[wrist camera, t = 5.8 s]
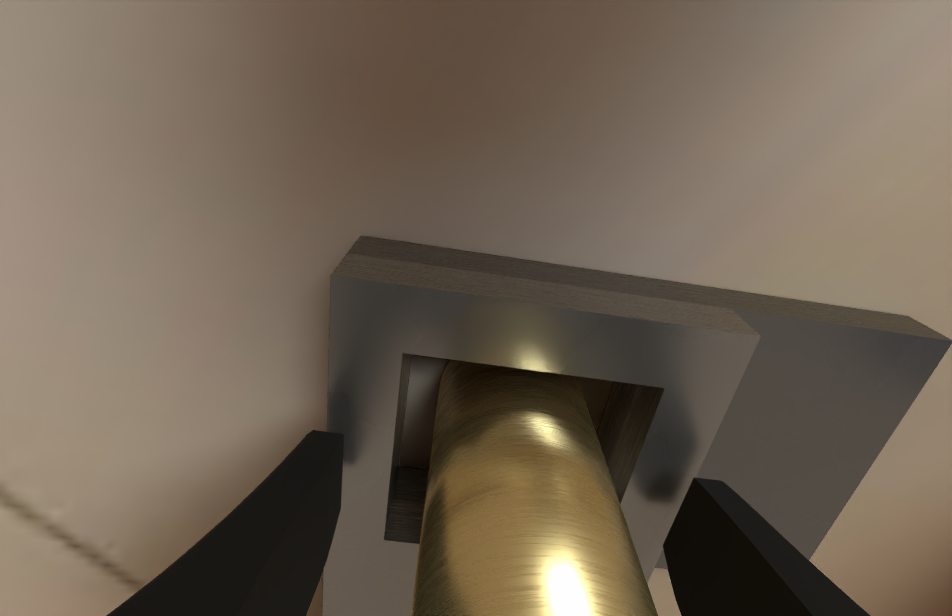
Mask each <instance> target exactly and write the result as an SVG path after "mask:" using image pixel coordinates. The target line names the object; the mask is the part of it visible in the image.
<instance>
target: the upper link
mask: <svg viewBox="0 0 952 616" xmlns="http://www.w3.org/2000/svg"><path fill="white" fill-rule="evenodd" d="M760 337H761V336H760V335H759V334H758V333H757V332H756V331H755V330H754V329H753V328H751V327H750V326H749V325H748V324H747V323H746V322H745V321H744V320H743V319H742V318H741V317H739V316H738V315H737V314H736V313H735V312H734V311H733V310H732V309H730V308H723V307H716V306H709V305H702V304H695V303H688V302H681V301H674V300H668V299H661V298H654V297H647V296H640V295H633V294H626V293H619V292H612V291H605V290H599V289H592V288H585V287H578V286H571V285H564V284H557V283H550V282H543V281H536V280H530V279H523V278H516V277H509V276H502V275H495V274H488V273H481V272H474V271H467V270H461V269H454V268H447V267H440V266H433V265H426V264H419V263H412V262H405V261H398V260H392V259H385V258H378V257H371V256H364V255H357V254H350V253H347V254H346V256H345V257H344V258H343V260H342V261H341V262H340V263H339V265H338V266H337V267H336V269H335V270H334V271H333V273H332V274H331V280H330V322H329V364H328V405H327V432H332V433H340V434H344V450H343V473H342V496H341V510H340V514H339V518H338V521H337V525H336V529H335V533H334V537H333V540H332V544H331V547H330V551H329V555H328V558H327V561H326V564H325V567H324V572H323V614H322V616H411V609H412V601H413V593H414V585H415V577H416V569H417V561H418V553H419V545H420V537H421V529H422V521H423V513H424V505H425V504H420V503H411V502H403V501H394V500H392V498H393V488H394V479H395V469H396V459H397V450H398V440H399V431H400V421H401V412H402V402H403V393H404V383H405V374H406V364H407V355H408V354H415V355H422V356H430V357H437V358H444V359H452V360H459V361H467V362H474V363H482V364H489V365H497V366H504V367H512V368H519V369H526V370H534V371H541V372H549V373H556V374H564V375H571V376H579V377H586V378H594V379H601V380H608V381H616V382H623V383H631V384H636V387H635V389H634V392H633V395H632V398H631V401H630V404H629V407H628V409H627V412H626V415H625V418H624V421H623V424H622V426H621V429H620V432H619V435H618V438H617V441H616V444H615V446H614V449H613V452H612V455H611V458H610V461H609V463H608V466H607V467H608V470H609V473H610V476H611V479H612V482H613V485H614V488H615V491H616V494H617V496H618V499H619V502H620V505H621V508H622V511H623V514H624V517H625V520H626V523H627V526H628V529H629V532H630V535H631V538H632V541H633V544H634V547H635V550H636V553H637V555H638V558H639V561H640V564H641V567H642V570H643V573H644V576H645V579H646V582H648V580H649V578H650V576H651V574H652V572H653V569H654V567H655V565H656V563H657V561H658V559H659V556H660V554H661V552H662V550H663V543H664V541H665V539H666V537H667V535H668V532H669V530H670V528H671V526H672V524H673V522H674V519H675V517H676V515H677V513H678V511H679V508H680V506H681V504H682V502H683V500H684V497H685V495H686V493H687V491H688V489H689V487H690V484H691V482H692V480H693V478H694V477H696V476H697V474H698V472H699V470H700V467H701V465H702V463H703V461H704V459H705V457H706V454H707V452H708V450H709V448H710V446H711V444H712V441H713V439H714V437H715V435H716V433H717V431H718V428H719V426H720V424H721V422H722V420H723V418H724V415H725V413H726V411H727V409H728V407H729V404H730V402H731V400H732V398H733V396H734V394H735V391H736V389H737V387H738V385H739V383H740V381H741V378H742V376H743V374H744V372H745V370H746V368H747V365H748V363H749V361H750V359H751V357H752V355H753V352H754V350H755V348H756V346H757V344H758V342H759V339H760Z"/></svg>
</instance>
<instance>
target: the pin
mask: <svg viewBox="0 0 952 616" xmlns="http://www.w3.org/2000/svg"><path fill="white" fill-rule="evenodd" d="M411 616H658V614H657V612H656V609H655V606H654V603H653V600H652V597H651V594H650V591H649V588H648V585H647V582H646V579H645V576H644V573H643V570H642V567H641V564H640V561H639V558H638V555H637V553H636V550H635V547H634V544H633V541H632V538H631V535H630V532H629V529H628V526H627V523H626V520H625V517H624V514H623V511H622V508H621V505H620V502H619V499H618V496H617V494H616V491H615V488H614V485H613V482H612V479H611V476H610V473H609V470H608V467H607V464H606V461H605V458H604V455H603V452H602V449H601V446H600V443H599V440H598V437H597V435H596V432H595V429H594V426H593V423H592V420H591V417H590V414H589V411H588V408H587V405H586V402H585V399H584V396H583V393H582V390H581V387H580V384H579V381H578V378H577V376H571V375H564V374H556V373H549V372H541V371H534V370H526V369H519V368H512V367H504V366H497V365H489V364H482V363H474V362H467V361H459V360H452V359H451V360H450V361H449V362H448V364H447V366H446V367H445V369H444V371H443V374H442V377H441V381H440V386H439V394H438V402H437V410H436V418H435V426H434V434H433V442H432V450H431V458H430V466H429V473H428V481H427V489H426V497H425V505H424V513H423V521H422V529H421V537H420V545H419V553H418V561H417V569H416V577H415V585H414V593H413V601H412V609H411Z"/></svg>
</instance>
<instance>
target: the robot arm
mask: <svg viewBox="0 0 952 616" xmlns="http://www.w3.org/2000/svg"><path fill="white" fill-rule="evenodd" d="M343 450H344V434H340V433H332V432H324V431H316V430H313V431H311V432H310V433H308V434H307V435H306V436H305V437H304V439H303V440H302V441H301V442H300V443H299V444H298V445H297V446H296V447H295V449H294V450H293V451H292V452H291V453H290V454H289V455H288V456H287V457H286V458H285V459H284V460H283V461H282V462H281V464H280V465H279V466H278V467H277V468H276V469H275V470H274V471H273V472H272V473H271V474H270V475H269V476H268V477H267V478H266V479H265V480H264V481H263V482H262V483H261V484H260V485H259V486H258V487H257V488H256V489H255V490H254V491H253V492H252V493H251V494H250V495H249V496H248V497H246V498H245V499H244V500H243V501H242V502H241V503H240V504H239V505H238V506H237V507H236V508H235V509H234V510H233V511H232V512H231V513H230V514H229V515H228V516H227V517H226V518H224V519H223V520H222V521H221V522H220V523H219V524H218V525H217V526H215V527H214V528H213V529H212V530H211V531H210V532H209V533H207V534H206V535H205V536H204V537H203V538H202V539H201V540H200V541H198V542H197V543H196V544H195V545H194V546H193V547H192V548H191V549H189V550H188V551H187V552H186V553H185V554H184V555H182V556H181V557H180V558H179V559H178V560H176V561H175V562H174V563H173V564H172V565H170V566H169V567H168V568H167V569H166V570H164V571H163V572H162V573H161V574H159V575H158V576H157V577H156V578H155V579H153V580H152V581H151V582H150V583H148V584H147V585H146V586H144V587H143V588H142V589H141V590H139V591H138V592H137V593H135V594H134V595H133V596H132V597H130V598H129V599H128V600H126V601H125V602H124V603H123V604H121V605H120V606H119V607H117V608H116V609H115V610H113V611H112V612H111V613H109V614H108V615H106V616H306V614H307V611H308V609H309V606H310V603H311V601H312V598H313V596H314V593H315V590H316V588H317V585H318V582H319V580H320V577H321V575H322V572H323V569H324V567H325V564H326V561H327V558H328V555H329V551H330V547H331V544H332V540H333V537H334V533H335V529H336V525H337V521H338V518H339V514H340V510H341V496H342V473H343ZM663 549H664V554H665V558H666V563H667V567H668V571H669V576H670V579H671V583H672V587H673V591H674V595H675V598H676V601H677V604H678V607H679V610H680V612H681V615H682V616H870V615H869V614H868V613H867V612H866V611H864V610H863V609H862V608H861V607H860V606H859V605H857V604H856V603H855V602H854V601H853V600H852V599H851V598H850V597H848V596H847V595H846V594H845V593H844V592H843V591H842V590H841V589H840V588H838V587H837V586H836V585H835V584H834V583H833V582H832V581H831V580H830V579H828V578H827V577H826V576H825V575H824V574H823V573H822V572H821V571H820V570H819V569H817V568H816V567H815V566H814V565H813V564H812V563H811V562H810V561H809V560H808V559H807V558H806V557H805V556H803V555H802V554H801V553H800V552H799V551H798V550H797V549H796V548H795V547H794V546H793V545H792V544H791V543H790V542H788V541H787V540H786V539H785V538H784V537H783V536H782V535H781V534H780V533H779V532H778V531H777V530H776V529H775V528H774V527H773V526H771V525H770V524H769V523H768V522H767V521H766V520H765V519H764V518H763V517H762V516H761V515H760V514H759V513H758V512H757V511H756V510H754V509H753V508H752V507H751V506H750V505H749V504H748V503H747V502H746V501H745V500H744V499H743V498H741V497H740V496H739V495H738V494H737V493H736V492H735V491H734V490H732V489H731V488H730V487H729V486H728V485H727V484H725V483H724V482H723V481H720V480H712V479H704V478H696V477H694V478H693V480H692V482H691V484H690V487H689V489H688V491H687V493H686V495H685V497H684V500H683V502H682V504H681V506H680V508H679V511H678V513H677V515H676V517H675V519H674V522H673V524H672V526H671V528H670V530H669V532H668V535H667V537H666V539H665V541H664V543H663Z"/></svg>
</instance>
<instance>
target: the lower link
mask: <svg viewBox="0 0 952 616" xmlns="http://www.w3.org/2000/svg"><path fill="white" fill-rule="evenodd" d="M348 253H350V254H357V255H364V256H371V257H378V258H385V259H392V260H398V261H405V262H412V263H419V264H426V265H433V266H440V267H447V268H454V269H461V270H467V271H474V272H481V273H488V274H495V275H502V276H509V277H516V278H523V279H530V280H536V281H543V282H550V283H557V284H564V285H571V286H578V287H585V288H592V289H599V290H605V291H612V292H619V293H626V294H633V295H640V296H647V297H654V298H661V299H668V300H674V301H681V302H688V303H695V304H702V305H709V306H716V307H723V308H730V309H732V310H733V311H734V312H735V313H736V314H737V315H738V316H739V317H741V318H742V319H743V320H744V321H745V322H746V323H747V324H748V325H749V326H750V327H751V328H753V329H754V330H755V331H756V332H757V333H758V334H759V335H760V336H761V337H760V339H759V342H758V344H757V346H756V348H755V350H754V352H753V355H752V357H751V359H750V361H749V363H748V365H747V368H746V370H745V372H744V374H743V376H742V378H741V381H740V383H739V385H738V387H737V389H736V391H735V394H734V396H733V398H732V400H731V402H730V404H729V407H728V409H727V411H726V413H725V415H724V418H723V420H722V422H721V424H720V426H719V428H718V431H717V433H716V435H715V437H714V439H713V441H712V444H711V446H710V448H709V450H708V452H707V454H706V457H705V459H704V461H703V463H702V465H701V467H700V470H699V472H698V474H697V476H696V478H704V479H712V480H720V481H723V482H724V483H725V484H727V485H728V486H729V487H730V488H731V489H732V490H734V491H735V492H736V493H737V494H738V495H739V496H740V497H741V498H743V499H744V500H745V501H746V502H747V503H748V504H749V505H750V506H751V507H752V508H753V509H754V510H756V511H757V512H758V513H759V514H760V515H761V516H762V517H763V518H764V519H765V520H766V521H767V522H768V523H769V524H770V525H771V526H773V527H774V528H775V529H776V530H777V531H778V532H779V533H780V534H781V535H782V536H783V537H784V538H785V539H786V540H787V541H788V542H790V543H791V544H792V545H793V546H794V547H795V548H796V549H797V550H798V551H799V552H800V553H801V554H802V555H803V556H805V557H806V558H807V559H808V560H809V559H810V558H811V556H812V555H813V553H814V552H815V550H816V549H817V547H818V546H819V544H820V543H821V541H822V540H823V538H824V537H825V535H826V534H827V532H828V531H829V529H830V528H831V526H832V525H833V523H834V521H835V520H836V518H837V517H838V515H839V514H840V512H841V511H842V509H843V508H844V506H845V505H846V503H847V502H848V500H849V499H850V497H851V496H852V494H853V493H854V491H855V490H856V488H857V487H858V485H859V484H860V482H861V480H862V479H863V477H864V476H865V474H866V473H867V471H868V470H869V468H870V467H871V465H872V464H873V462H874V461H875V459H876V458H877V456H878V455H879V453H880V452H881V450H882V449H883V447H884V446H885V444H886V442H887V441H888V439H889V438H890V436H891V435H892V433H893V432H894V430H895V429H896V427H897V426H898V424H899V423H900V421H901V420H902V418H903V417H904V415H905V414H906V412H907V411H908V409H909V408H910V406H911V405H912V403H913V401H914V400H915V398H916V397H917V395H918V394H919V392H920V391H921V389H922V388H923V386H924V385H925V383H926V382H927V380H928V379H929V377H930V376H931V374H932V373H933V371H934V370H935V368H936V367H937V365H938V364H939V362H940V360H941V359H942V357H943V356H944V354H945V353H946V351H947V350H948V348H949V347H950V345H951V344H952V340H951V339H949V338H947V337H945V336H944V335H942V334H940V333H938V332H936V331H934V330H933V329H931V328H929V327H927V326H925V325H924V324H922V323H920V322H918V321H916V320H914V319H913V318H911V317H909V316H903V315H896V314H890V313H883V312H876V311H869V310H863V309H856V308H849V307H842V306H835V305H829V304H822V303H815V302H808V301H801V300H795V299H788V298H781V297H774V296H767V295H761V294H754V293H747V292H740V291H733V290H727V289H720V288H713V287H706V286H699V285H693V284H686V283H679V282H672V281H666V280H659V279H652V278H645V277H638V276H632V275H625V274H618V273H611V272H604V271H598V270H591V269H584V268H577V267H570V266H564V265H557V264H550V263H543V262H536V261H530V260H523V259H516V258H509V257H502V256H496V255H489V254H482V253H475V252H468V251H462V250H455V249H448V248H441V247H435V246H428V245H421V244H414V243H407V242H401V241H394V240H387V239H380V238H373V237H367V236H360V238H359V239H358V240H357V241H356V243H355V244H354V245H353V247H352V248H351V249H350V251H349V252H348ZM411 355H412V354H408V355H407V364H406V374H405V383H404V393H403V402H402V412H401V421H400V431H399V440H398V450H397V459H396V469H395V479H394V488H393V498H392V500H394V501H403V502H411V503H420V504H425V497H426V489H427V481H428V473H429V470H422V469H413V468H405V467H399V465H400V455H401V446H402V437H403V428H404V419H405V410H406V400H407V391H408V382H409V373H410V364H411ZM635 387H636V384H631V383H623V382H616V381H614V384H613V387H612V390H611V393H610V396H609V399H608V402H607V405H606V408H605V411H604V414H603V417H602V420H601V423H600V426H599V429H598V432H597V437H598V440H599V443H600V446H601V449H602V452H603V455H604V458H605V461H606V464H607V466H608V463H609V461H610V458H611V455H612V452H613V449H614V446H615V444H616V441H617V438H618V435H619V432H620V429H621V426H622V424H623V421H624V418H625V415H626V412H627V409H628V407H629V404H630V401H631V398H632V395H633V392H634V389H635ZM655 568H664V569H668V567H667V563H666V558H665V554H664V549H663V550H662V552H661V554H660V556H659V559H658V561H657V563H656V565H655Z"/></svg>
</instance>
